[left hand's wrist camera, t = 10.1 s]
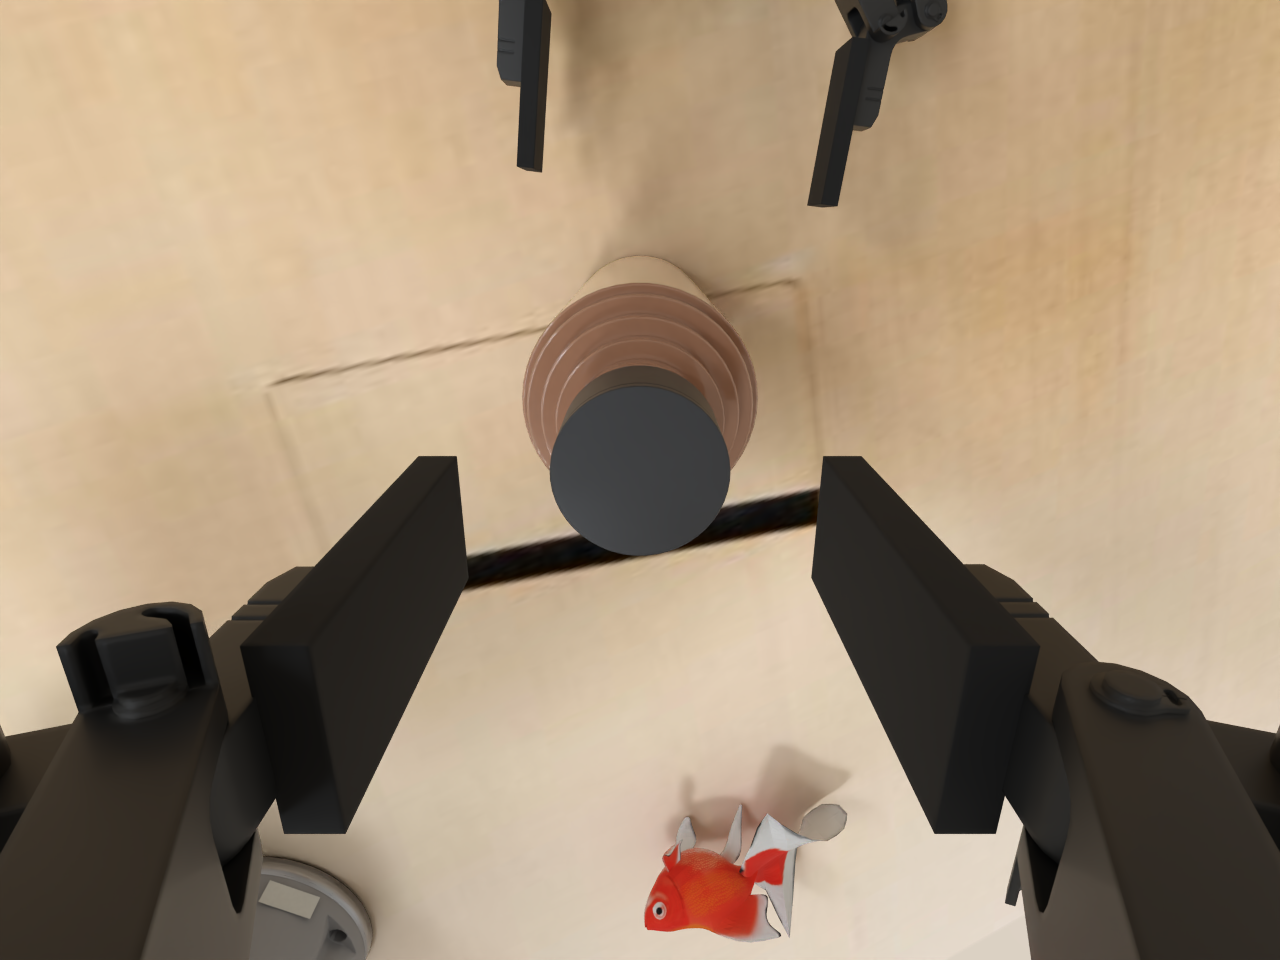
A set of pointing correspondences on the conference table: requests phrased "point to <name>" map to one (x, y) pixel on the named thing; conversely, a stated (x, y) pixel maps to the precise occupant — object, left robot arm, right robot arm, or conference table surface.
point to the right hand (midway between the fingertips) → (676, 189)
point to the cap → (640, 462)
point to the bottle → (640, 348)
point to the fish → (735, 878)
